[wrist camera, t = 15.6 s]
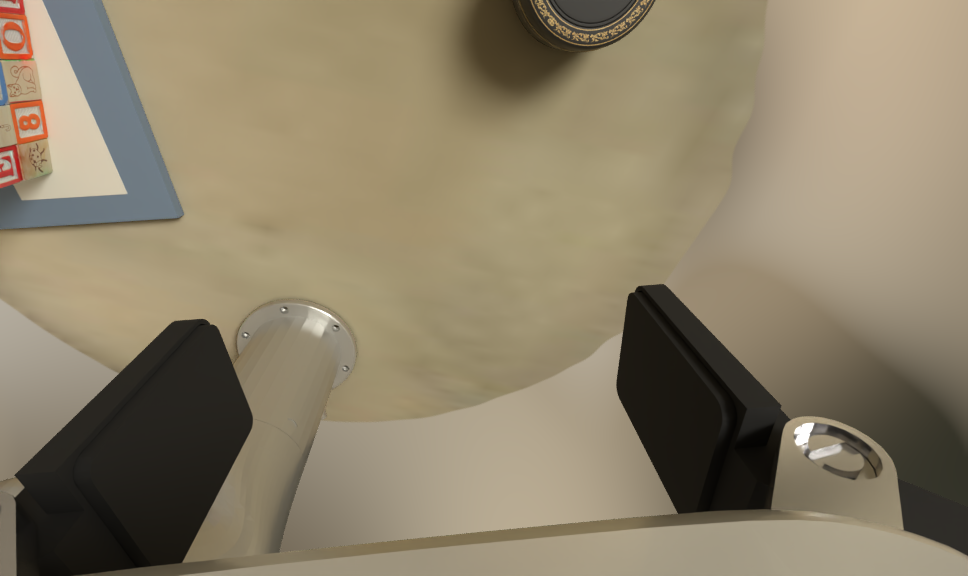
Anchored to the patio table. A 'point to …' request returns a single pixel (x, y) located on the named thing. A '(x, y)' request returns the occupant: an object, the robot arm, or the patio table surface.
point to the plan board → (88, 128)
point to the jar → (581, 21)
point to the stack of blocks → (20, 102)
